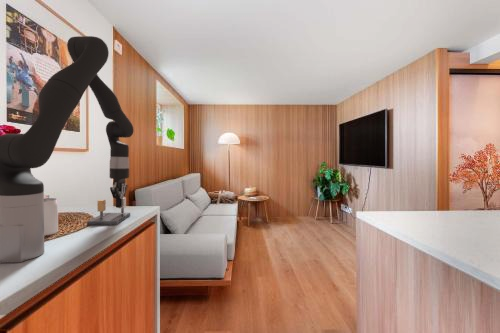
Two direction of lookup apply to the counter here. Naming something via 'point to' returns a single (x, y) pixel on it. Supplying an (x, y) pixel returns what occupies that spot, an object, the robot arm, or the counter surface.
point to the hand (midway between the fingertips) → (119, 207)
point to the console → (108, 219)
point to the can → (50, 216)
